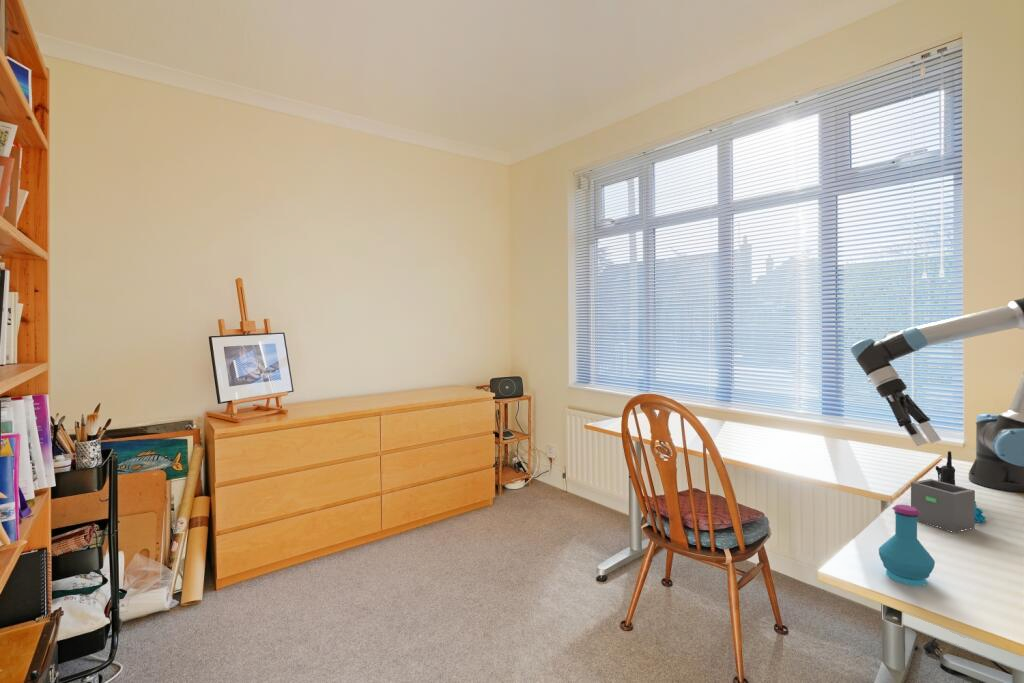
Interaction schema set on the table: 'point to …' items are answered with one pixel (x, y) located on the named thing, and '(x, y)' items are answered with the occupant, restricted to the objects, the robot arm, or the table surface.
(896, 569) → the perfume bottle
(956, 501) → the charging dock
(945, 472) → the two-way radio
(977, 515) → the gear
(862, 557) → the table surface
